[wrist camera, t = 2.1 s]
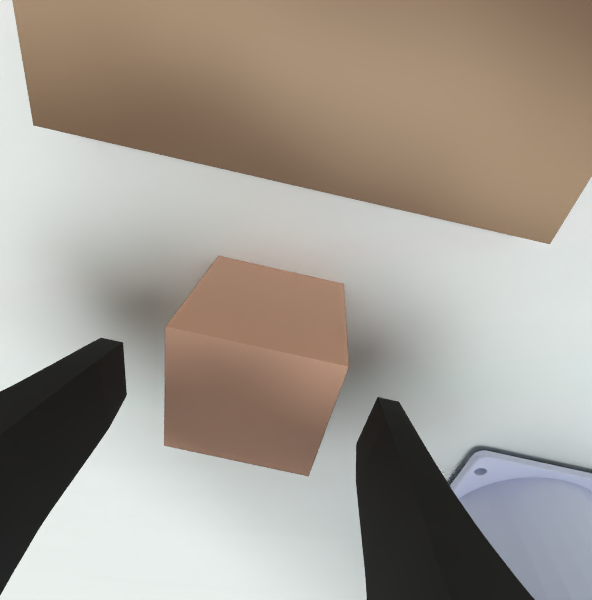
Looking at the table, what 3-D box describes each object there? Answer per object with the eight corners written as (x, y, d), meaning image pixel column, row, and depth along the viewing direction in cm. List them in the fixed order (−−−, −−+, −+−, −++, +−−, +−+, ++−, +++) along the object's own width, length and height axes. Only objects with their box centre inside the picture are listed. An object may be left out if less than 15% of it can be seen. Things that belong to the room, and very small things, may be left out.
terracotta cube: (315, 375, 14) (308, 476, 11) (209, 352, 14) (163, 445, 10) (343, 283, 12) (348, 366, 8) (218, 255, 12) (165, 326, 8)
